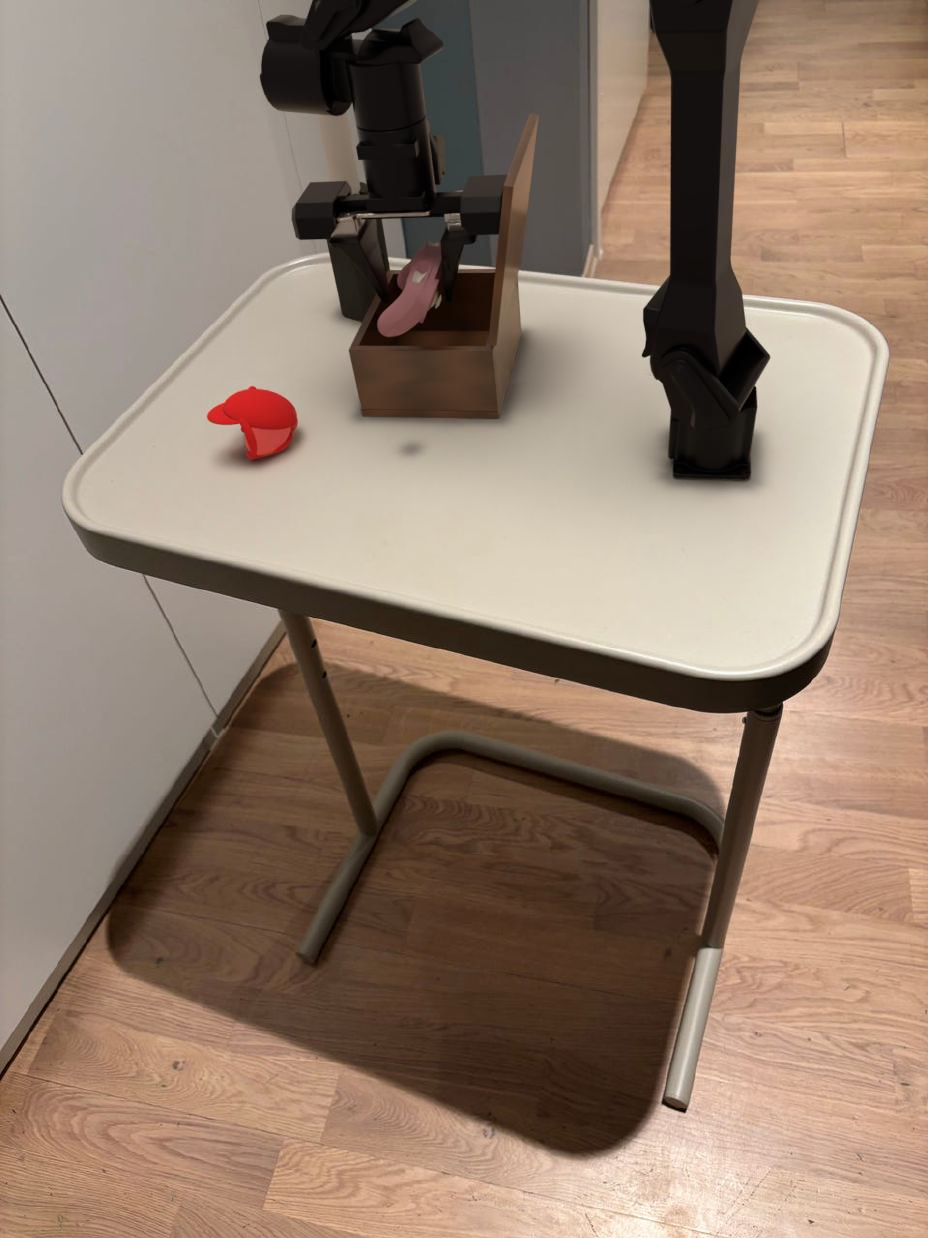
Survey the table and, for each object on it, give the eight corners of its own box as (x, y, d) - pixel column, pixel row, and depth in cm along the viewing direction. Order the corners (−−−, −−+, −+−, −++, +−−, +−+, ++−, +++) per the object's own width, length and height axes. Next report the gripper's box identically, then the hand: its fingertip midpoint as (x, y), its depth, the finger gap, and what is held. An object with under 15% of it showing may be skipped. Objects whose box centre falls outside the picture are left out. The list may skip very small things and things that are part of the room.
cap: (282, 416, 94) (267, 362, 89) (313, 440, 90) (299, 386, 86) (211, 450, 91) (192, 397, 87) (241, 477, 87) (222, 423, 83)
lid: (503, 184, 73) (513, 186, 73) (530, 112, 84) (539, 113, 84) (487, 345, 84) (496, 346, 84) (513, 263, 94) (520, 264, 94)
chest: (362, 416, 92) (348, 349, 87) (398, 333, 103) (387, 269, 97) (498, 418, 90) (492, 350, 84) (521, 333, 100) (517, 267, 95)
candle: (366, 295, 110) (321, 55, 92) (400, 304, 107) (360, 59, 89) (337, 315, 107) (285, 72, 89) (371, 324, 105) (325, 77, 87)
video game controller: (419, 355, 85) (445, 289, 80) (372, 335, 84) (395, 267, 79) (440, 301, 91) (465, 237, 86) (396, 282, 91) (418, 216, 86)
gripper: (519, 77, 79) (529, 257, 90) (308, 90, 82) (343, 261, 94) (500, 127, 71) (514, 316, 82) (269, 138, 75) (312, 318, 86)
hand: (418, 300), depth 86 cm, fingers closed on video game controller, 6 cm apart
